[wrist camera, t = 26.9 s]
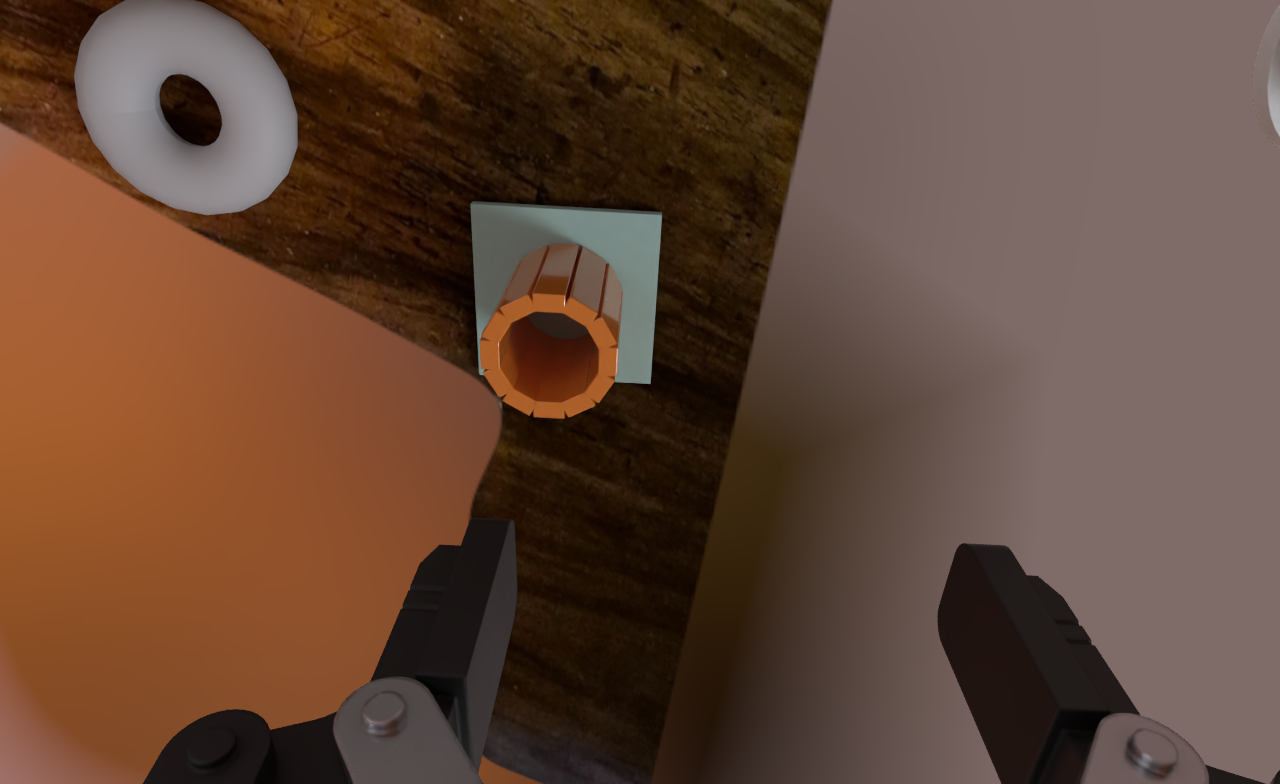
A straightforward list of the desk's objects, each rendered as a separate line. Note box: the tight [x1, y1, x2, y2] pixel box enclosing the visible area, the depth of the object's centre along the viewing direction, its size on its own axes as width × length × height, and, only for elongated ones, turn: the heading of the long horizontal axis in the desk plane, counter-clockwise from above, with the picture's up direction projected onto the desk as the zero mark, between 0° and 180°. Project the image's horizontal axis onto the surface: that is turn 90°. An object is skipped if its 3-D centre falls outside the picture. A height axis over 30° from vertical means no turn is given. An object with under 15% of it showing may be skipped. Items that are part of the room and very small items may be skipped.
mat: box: [471, 201, 662, 384], centre depth 42 cm, size 10×10×1 cm
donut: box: [74, 0, 298, 215], centre depth 37 cm, size 10×4×10 cm
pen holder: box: [480, 243, 623, 418], centre depth 39 cm, size 6×6×8 cm
